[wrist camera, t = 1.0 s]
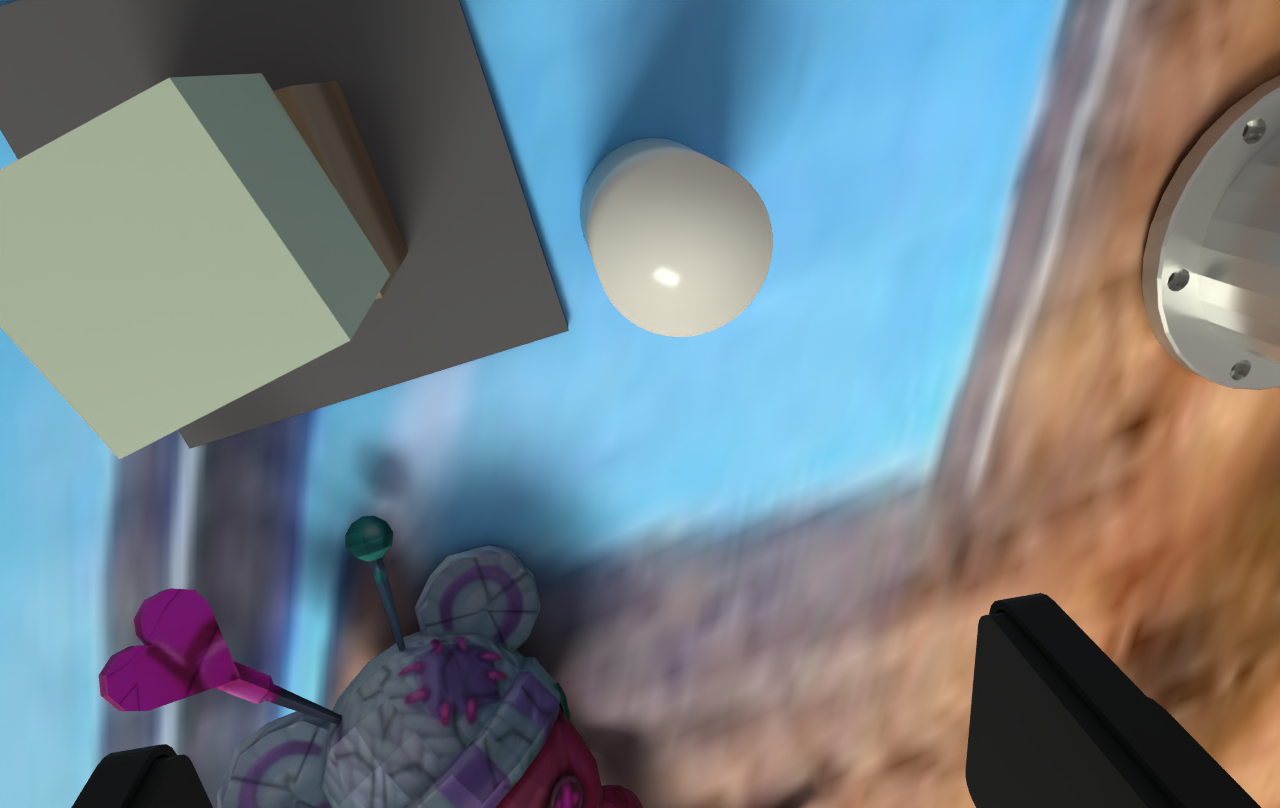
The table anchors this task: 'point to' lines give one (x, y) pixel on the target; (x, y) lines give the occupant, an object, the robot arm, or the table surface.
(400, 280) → the mat
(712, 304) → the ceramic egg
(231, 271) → the block top
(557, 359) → the table surface
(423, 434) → the table surface
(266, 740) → the toy
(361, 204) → the block bottom
